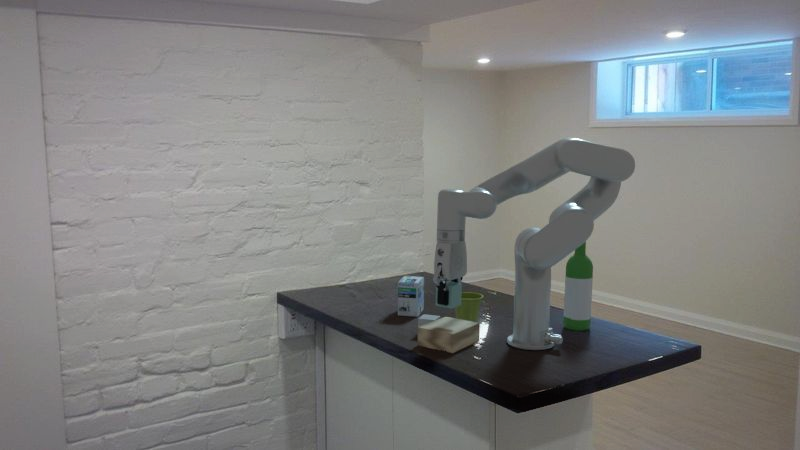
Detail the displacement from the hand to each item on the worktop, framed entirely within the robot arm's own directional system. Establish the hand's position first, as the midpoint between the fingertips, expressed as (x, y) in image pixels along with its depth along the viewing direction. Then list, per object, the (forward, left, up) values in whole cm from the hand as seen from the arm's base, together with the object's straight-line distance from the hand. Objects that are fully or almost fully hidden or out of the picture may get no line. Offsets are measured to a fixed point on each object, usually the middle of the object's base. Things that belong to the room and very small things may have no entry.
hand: (448, 301), depth 190 cm
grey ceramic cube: (+9, -4, -12) cm, 15 cm away
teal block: (0, 0, -1) cm, 1 cm away
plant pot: (+6, -20, -12) cm, 24 cm away
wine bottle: (-22, -36, -12) cm, 44 cm away
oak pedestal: (0, 0, -11) cm, 11 cm away
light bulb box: (+27, -21, -12) cm, 36 cm away
